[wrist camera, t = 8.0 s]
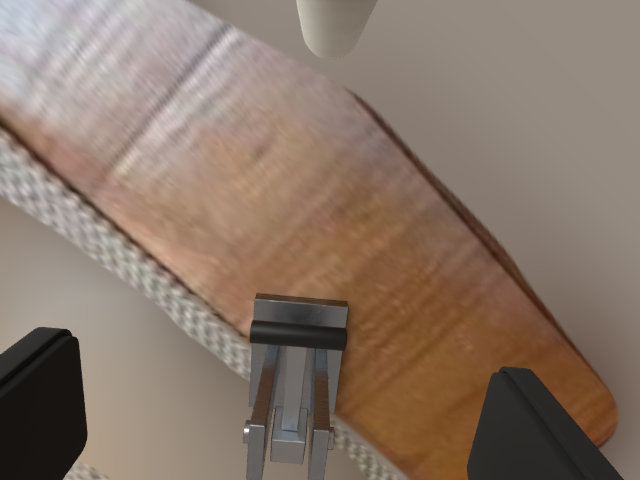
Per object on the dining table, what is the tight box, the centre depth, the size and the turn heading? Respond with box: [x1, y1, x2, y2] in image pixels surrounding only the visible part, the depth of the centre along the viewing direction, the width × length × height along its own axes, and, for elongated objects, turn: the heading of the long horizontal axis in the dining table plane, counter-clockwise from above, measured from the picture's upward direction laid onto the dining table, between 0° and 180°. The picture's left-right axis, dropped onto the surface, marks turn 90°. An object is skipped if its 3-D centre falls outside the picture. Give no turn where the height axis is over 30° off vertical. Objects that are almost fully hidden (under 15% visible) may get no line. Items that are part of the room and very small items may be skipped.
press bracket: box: [243, 293, 348, 480], centre depth 30 cm, size 11×8×12 cm
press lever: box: [250, 320, 347, 464], centre depth 24 cm, size 12×5×2 cm, turn 173°
